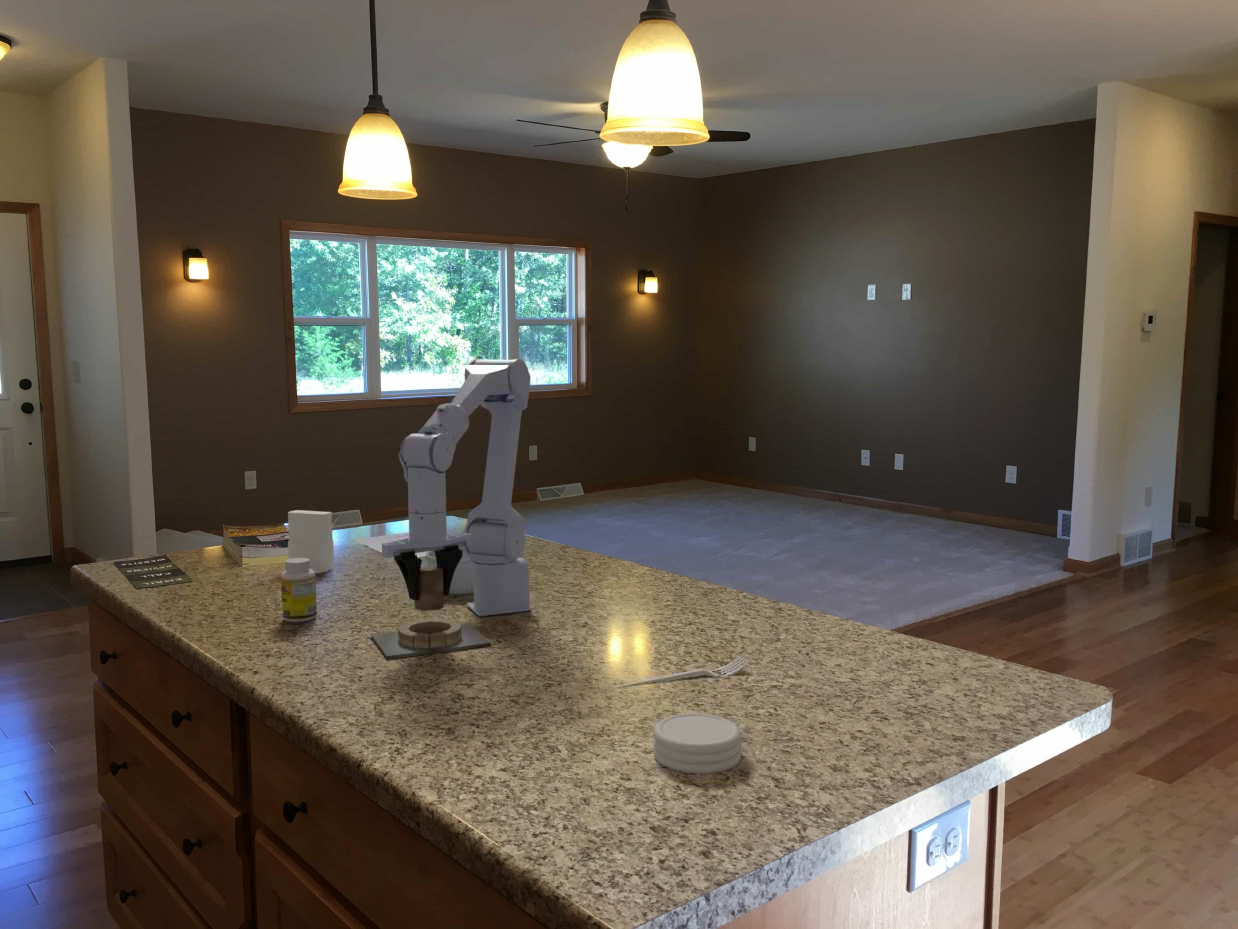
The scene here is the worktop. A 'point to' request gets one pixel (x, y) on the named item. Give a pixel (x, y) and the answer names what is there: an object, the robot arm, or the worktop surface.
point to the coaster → (697, 743)
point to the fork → (697, 673)
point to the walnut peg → (430, 589)
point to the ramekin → (458, 573)
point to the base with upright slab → (311, 538)
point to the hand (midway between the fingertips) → (429, 596)
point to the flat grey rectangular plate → (429, 638)
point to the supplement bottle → (298, 591)
